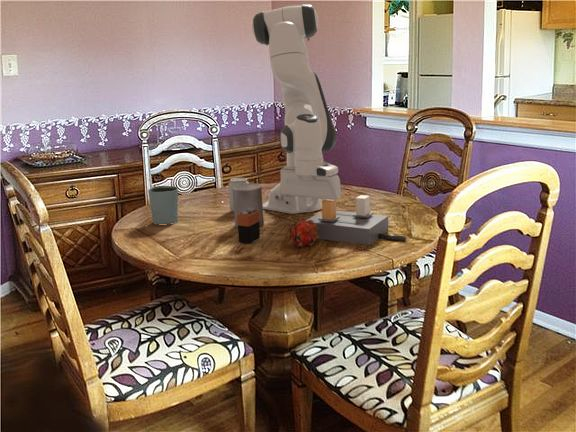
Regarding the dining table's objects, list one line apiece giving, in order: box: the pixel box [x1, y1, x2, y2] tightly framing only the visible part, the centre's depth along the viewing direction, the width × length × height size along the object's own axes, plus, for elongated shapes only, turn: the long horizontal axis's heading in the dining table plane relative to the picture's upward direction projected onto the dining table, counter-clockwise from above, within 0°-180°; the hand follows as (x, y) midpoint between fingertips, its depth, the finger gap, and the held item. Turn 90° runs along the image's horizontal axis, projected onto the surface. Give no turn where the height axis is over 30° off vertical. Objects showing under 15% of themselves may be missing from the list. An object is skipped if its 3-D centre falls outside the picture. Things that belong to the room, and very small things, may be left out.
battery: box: [237, 207, 261, 245], centre depth 199 cm, size 4×7×10 cm, turn 153°
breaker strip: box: [305, 210, 407, 246], centre depth 201 cm, size 31×16×5 cm, turn 61°
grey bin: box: [147, 185, 179, 225], centre depth 223 cm, size 10×10×12 cm
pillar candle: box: [233, 181, 265, 229], centre depth 214 cm, size 10×10×15 cm
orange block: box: [318, 199, 340, 222], centre depth 200 cm, size 5×5×6 cm
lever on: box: [353, 194, 374, 218], centre depth 203 cm, size 5×5×6 cm
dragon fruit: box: [289, 218, 320, 249], centre depth 193 cm, size 8×8×12 cm
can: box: [227, 177, 250, 213], centre depth 235 cm, size 8×8×12 cm
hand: (310, 210), depth 203 cm, fingers closed
